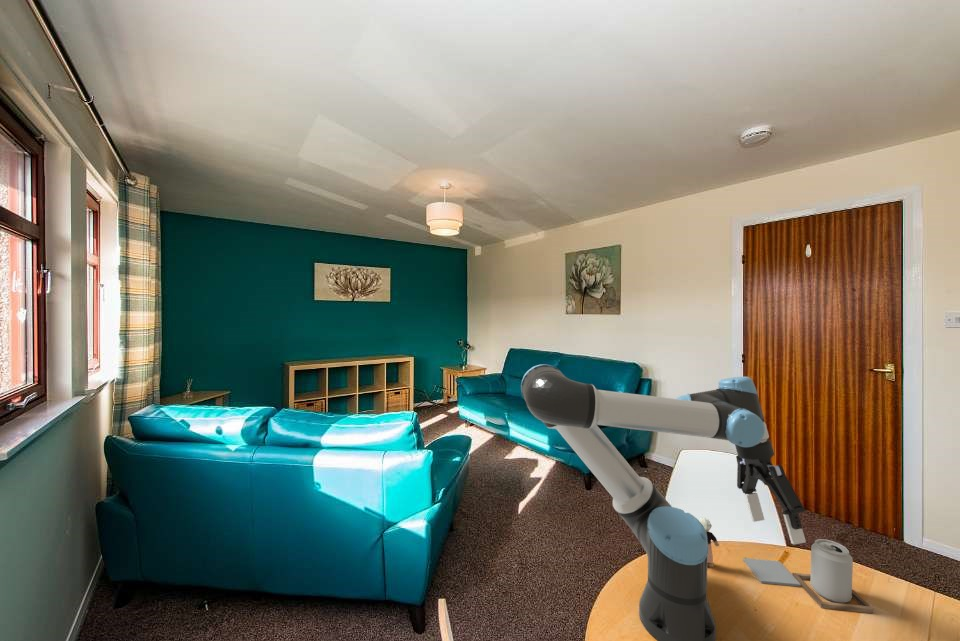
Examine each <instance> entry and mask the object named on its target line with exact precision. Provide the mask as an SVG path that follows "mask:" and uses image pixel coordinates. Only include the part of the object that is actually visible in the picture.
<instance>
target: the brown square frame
mask: <svg viewBox="0 0 960 641" xmlns="http://www.w3.org/2000/svg"><path fill="white" fill-rule="evenodd" d="M791 574H792V575H793V576H794V577H795V579H796V580H797V581H798V582H799V583H800V584H801V588H802V589H803V590H804V591H805V593H806V594H808V595H809V597H811V599H812V600H813V601H814V602H815V603H816V604H817V605H818V606H819V607H820V608H821V609H828V610H837V611H838V610H839V611H848V612H856V613H857V612H858V613H867V614H868V613H869V614H875V612H874V611H875V608H874V607H872V606H871V605H870V604H869V603H868V602H867V601H866V600H864V598H862V597H861V596H860V595H859V594H858V593H857V592H856V591H855V590H854V589H852V598H853V600H855V601H856V602H857V603H858V604H850V603H837V602H833V601H823V600H822V599H821V598H820V597H819V596H818V595H817V594H816V593H815V592H814V590H812V588H811V587H810V586H809V585H808V584H807V583H806V582H805V580H807V581H810V578H811V573H798V572H792V573H791Z"/></svg>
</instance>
